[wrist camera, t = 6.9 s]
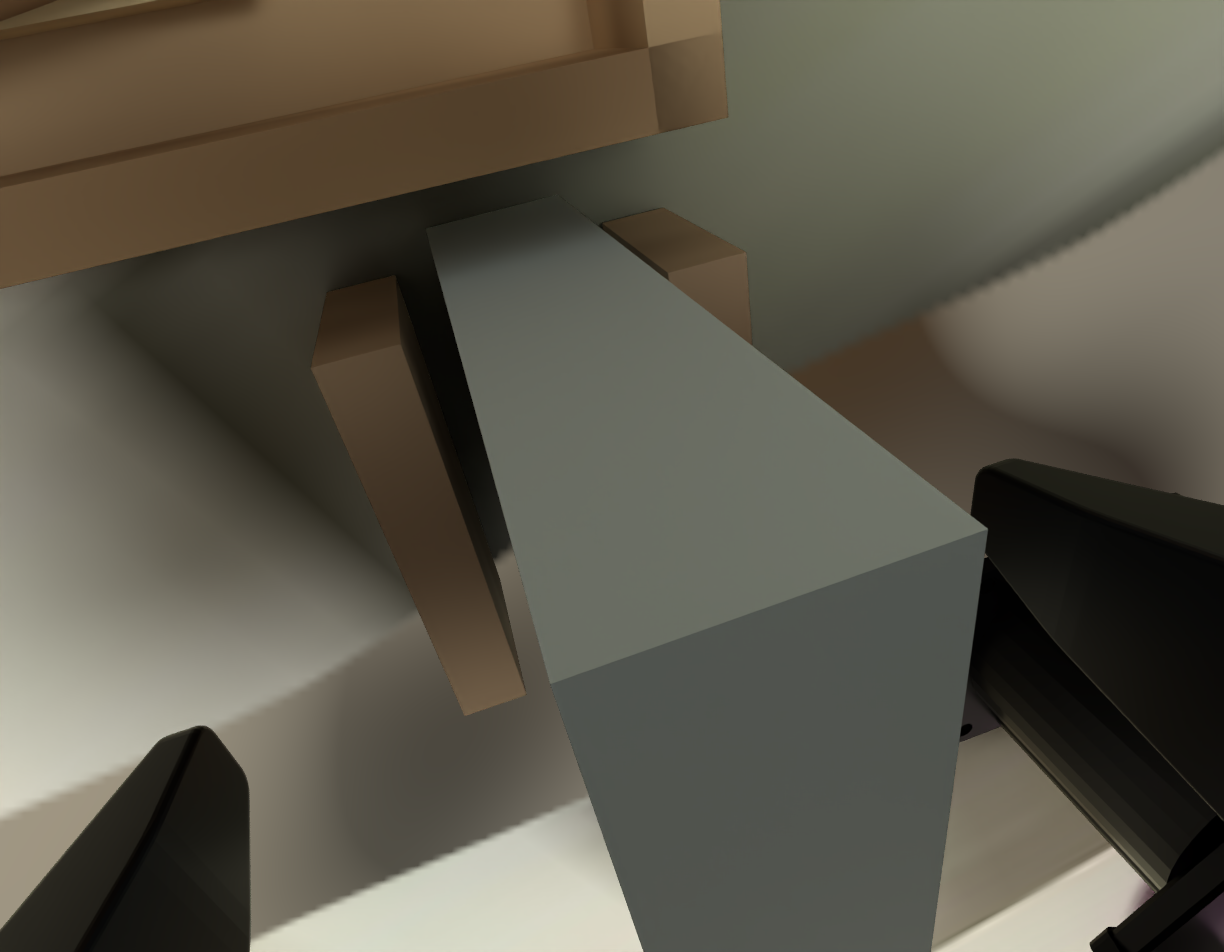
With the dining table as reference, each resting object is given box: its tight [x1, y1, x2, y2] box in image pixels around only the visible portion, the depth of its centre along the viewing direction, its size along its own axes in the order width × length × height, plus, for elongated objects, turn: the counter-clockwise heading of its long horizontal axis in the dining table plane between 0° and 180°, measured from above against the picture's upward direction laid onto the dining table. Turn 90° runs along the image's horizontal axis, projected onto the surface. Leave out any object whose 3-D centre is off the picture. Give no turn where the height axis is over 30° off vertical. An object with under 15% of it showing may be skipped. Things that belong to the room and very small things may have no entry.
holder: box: [311, 208, 752, 716], centre depth 11 cm, size 6×5×3 cm
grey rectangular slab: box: [426, 195, 988, 952], centre depth 9 cm, size 7×2×9 cm, turn 11°
